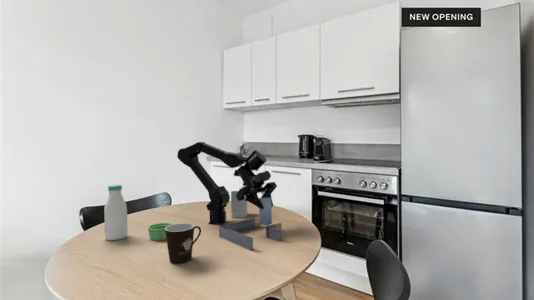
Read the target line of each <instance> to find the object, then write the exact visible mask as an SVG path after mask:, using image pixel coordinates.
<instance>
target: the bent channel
mask: <svg viewBox="0 0 534 300" xmlns="http://www.w3.org/2000/svg"><path fill="white" fill-rule="evenodd" d="M260 227H262V225H260V224H259V216H256V217H252V218H247V219H243V220H240V221H233V222H231V223H226V224H225V223H224V224H220V225H218V237H220V238H221V239H225V240H226V241H228V242H231V243H232V244H235V245H238V246H240V247H242V248H243V249H246V250H249V251H254V241H253V239H254V238H253V237H251V236H248V235H246V234H243V233H241V232H244V231H248V230H251V229H255V228H260ZM282 228H283V227H282V222H277V223H272V224H270V225H265V238H269V239H272V240H275V241H277V242H282V233H283V231H282V230H283V229H282Z"/></svg>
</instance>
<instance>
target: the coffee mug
mask: <svg viewBox="0 0 534 300" xmlns="http://www.w3.org/2000/svg"><path fill="white" fill-rule="evenodd" d="M172 224H173V223H172ZM195 229H198V234H197V236H196V238H195V239H194V236H195ZM165 233H166V239H165V240H166V244H167V245H166V246H167V252H168V258H169V262H170V264H172V265H180V264H181V265H182V264H186V263H188V262H191V260H192V257H193V256H192V254H193V245H195V243H196V242H197V241H198V239H199V238H200V236H201V233H202V228H201V227H200V226H199V225H197V226H195V225H194V224H193V223H189V222H188V223H186V222H182V223H174V224H173V225H170V226H167V227H166V228H165Z"/></svg>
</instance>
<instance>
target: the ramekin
mask: <svg viewBox="0 0 534 300" xmlns="http://www.w3.org/2000/svg"><path fill="white" fill-rule="evenodd" d="M170 225H173V223H172V222H157V223H154V224H153V223H152V224H151V225H148V226H147V230H148V237H149V239H150V240H152V241H163V240H164V241H165V240H166V233H165V228H166V227H167V226H170Z"/></svg>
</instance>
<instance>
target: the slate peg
mask: <svg viewBox="0 0 534 300" xmlns="http://www.w3.org/2000/svg"><path fill="white" fill-rule="evenodd" d="M258 198H259V199H260V201H261V203H262V205H263V207H264V208H263V209H260V208H259V207H258V209H259V210H258V215H259V216H258V217H259V224H260V225H261V226H269V225H273V220H272V219H273V218H272V216H273V215H272V208H273V207H272V202H273V201H272V202H271V198H272V197H271V198H269V197H262V196H261V197H258Z"/></svg>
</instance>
